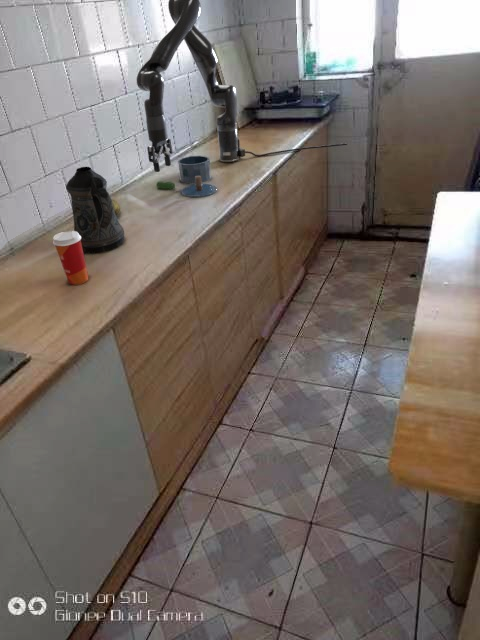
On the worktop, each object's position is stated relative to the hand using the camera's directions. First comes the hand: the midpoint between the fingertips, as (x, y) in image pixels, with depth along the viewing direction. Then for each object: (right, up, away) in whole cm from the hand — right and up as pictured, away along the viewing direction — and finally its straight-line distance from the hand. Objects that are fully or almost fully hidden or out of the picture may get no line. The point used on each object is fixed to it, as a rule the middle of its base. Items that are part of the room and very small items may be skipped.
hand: (162, 168), depth 197 cm
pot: (+12, -1, +14) cm, 18 cm away
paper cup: (-15, -51, -58) cm, 79 cm away
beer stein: (-13, -37, -38) cm, 55 cm away
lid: (+15, -10, -1) cm, 18 cm away
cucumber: (+1, -7, +5) cm, 9 cm away
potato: (-17, -24, -17) cm, 33 cm away
